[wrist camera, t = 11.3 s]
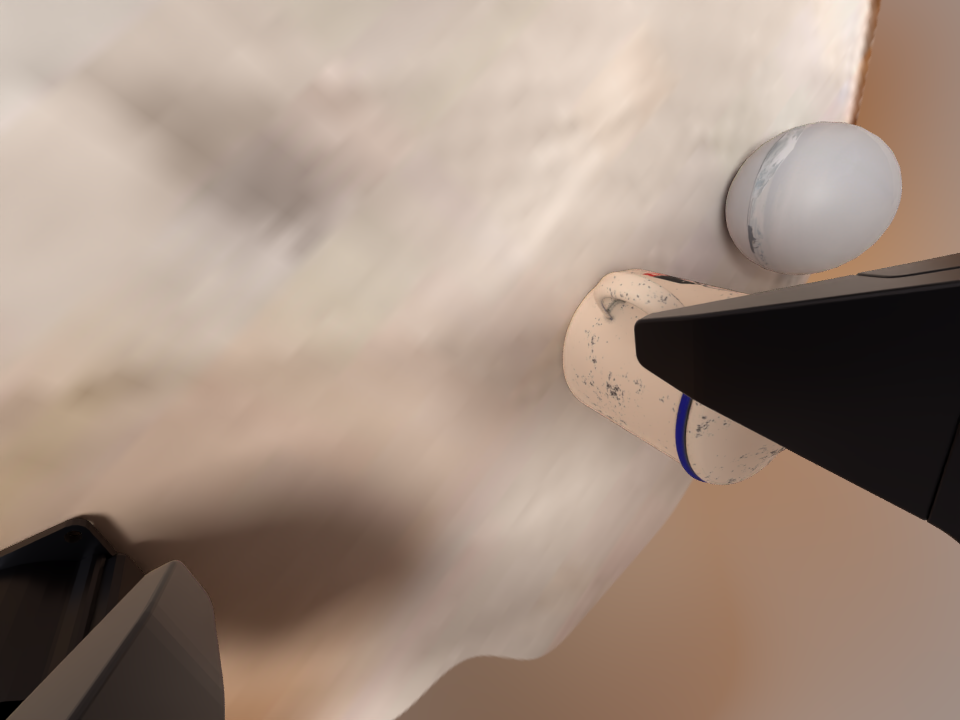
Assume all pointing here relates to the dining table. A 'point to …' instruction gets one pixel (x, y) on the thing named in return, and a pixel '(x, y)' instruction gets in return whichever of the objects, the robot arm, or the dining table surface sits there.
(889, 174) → the bath bomb
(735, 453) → the teacup with lid
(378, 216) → the dining table surface
